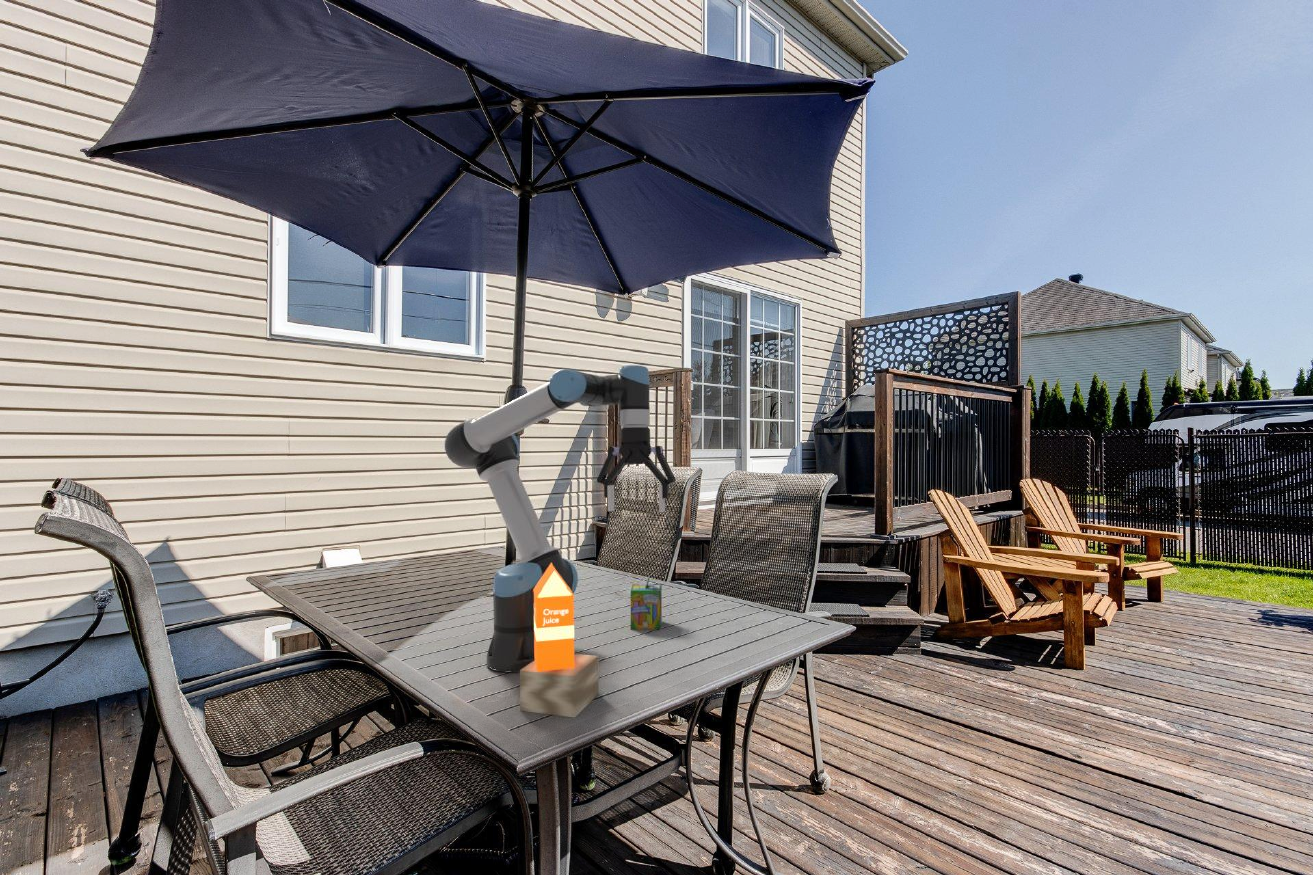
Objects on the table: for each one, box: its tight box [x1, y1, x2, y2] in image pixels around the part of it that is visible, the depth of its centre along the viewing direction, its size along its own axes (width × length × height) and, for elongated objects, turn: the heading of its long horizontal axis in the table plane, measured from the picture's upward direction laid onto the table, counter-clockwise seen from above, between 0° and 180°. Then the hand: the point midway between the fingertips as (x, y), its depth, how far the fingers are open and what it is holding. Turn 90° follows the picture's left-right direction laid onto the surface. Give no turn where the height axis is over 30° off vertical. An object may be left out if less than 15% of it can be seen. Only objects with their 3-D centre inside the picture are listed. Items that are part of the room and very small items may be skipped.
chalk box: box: [630, 574, 663, 630], centre depth 178 cm, size 9×9×15 cm
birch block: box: [519, 653, 600, 718], centre depth 124 cm, size 12×12×8 cm
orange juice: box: [533, 563, 575, 672], centre depth 125 cm, size 8×9×20 cm
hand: (636, 511), depth 150 cm, fingers open, 13 cm apart
